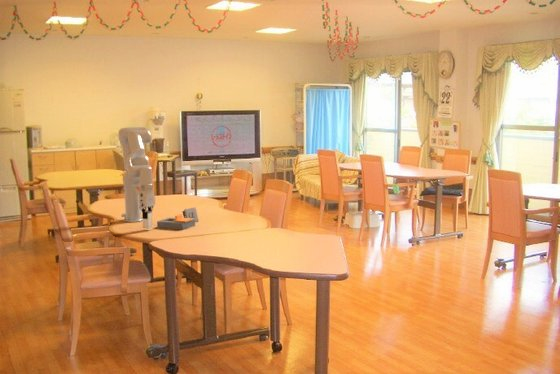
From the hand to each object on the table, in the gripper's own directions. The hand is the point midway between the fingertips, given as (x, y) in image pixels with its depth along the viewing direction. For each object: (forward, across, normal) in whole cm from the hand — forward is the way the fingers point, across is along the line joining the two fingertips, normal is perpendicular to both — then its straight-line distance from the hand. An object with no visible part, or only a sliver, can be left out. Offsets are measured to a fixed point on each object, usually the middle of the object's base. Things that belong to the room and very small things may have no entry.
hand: (147, 217), depth 361 cm
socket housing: (+8, +15, -10) cm, 19 cm away
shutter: (+3, +15, -16) cm, 22 cm away
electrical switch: (+8, +31, -10) cm, 33 cm away
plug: (+6, 0, 0) cm, 6 cm away
